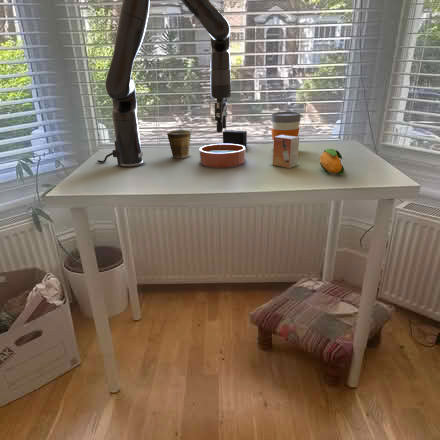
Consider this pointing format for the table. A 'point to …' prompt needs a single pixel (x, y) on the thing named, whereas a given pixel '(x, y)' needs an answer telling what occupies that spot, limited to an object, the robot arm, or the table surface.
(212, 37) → the robot arm
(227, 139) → the digital camera
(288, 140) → the small box
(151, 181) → the table surface
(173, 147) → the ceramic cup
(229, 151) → the cucumber
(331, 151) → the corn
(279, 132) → the reusable coffee cup
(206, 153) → the bowl
